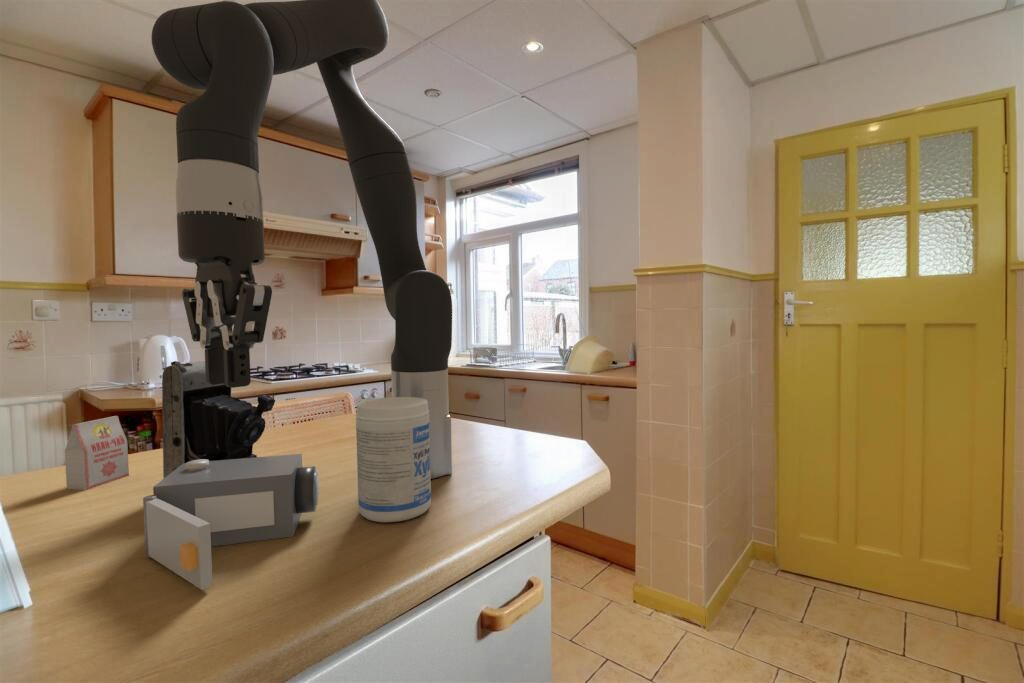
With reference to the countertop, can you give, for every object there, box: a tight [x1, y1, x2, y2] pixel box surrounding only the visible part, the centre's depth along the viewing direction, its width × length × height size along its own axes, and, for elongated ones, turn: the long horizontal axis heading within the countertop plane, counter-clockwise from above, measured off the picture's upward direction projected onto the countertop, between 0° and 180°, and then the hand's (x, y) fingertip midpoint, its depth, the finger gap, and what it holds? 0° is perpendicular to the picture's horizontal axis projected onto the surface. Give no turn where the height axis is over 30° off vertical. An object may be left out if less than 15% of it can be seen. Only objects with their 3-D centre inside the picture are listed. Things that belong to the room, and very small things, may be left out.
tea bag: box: [64, 415, 130, 491], centre depth 77 cm, size 4×7×10 cm, turn 169°
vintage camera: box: [161, 360, 276, 479], centre depth 73 cm, size 10×16×20 cm, turn 78°
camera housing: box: [152, 453, 320, 548], centre depth 60 cm, size 16×9×8 cm, turn 106°
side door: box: [142, 494, 214, 590], centre depth 49 cm, size 13×2×6 cm, turn 56°
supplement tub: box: [355, 396, 432, 523], centre depth 65 cm, size 10×10×15 cm
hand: (228, 384), depth 50 cm, fingers open, 3 cm apart
